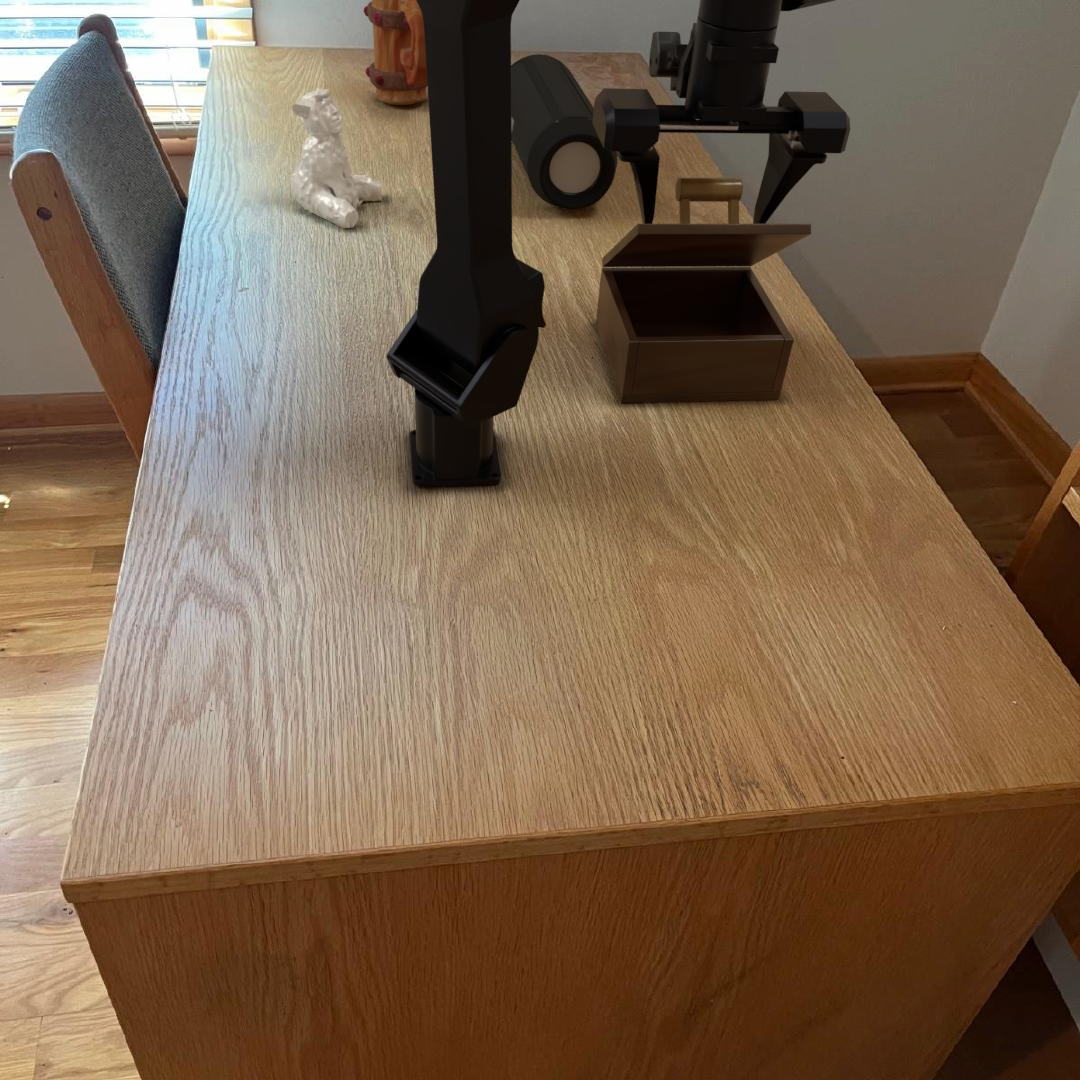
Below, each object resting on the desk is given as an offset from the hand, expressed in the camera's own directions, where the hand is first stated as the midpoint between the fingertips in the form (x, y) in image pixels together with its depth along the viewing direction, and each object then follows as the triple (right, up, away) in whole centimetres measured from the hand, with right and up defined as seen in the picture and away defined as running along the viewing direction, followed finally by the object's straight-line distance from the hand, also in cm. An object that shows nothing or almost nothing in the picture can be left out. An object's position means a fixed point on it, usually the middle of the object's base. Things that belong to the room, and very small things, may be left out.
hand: (702, 228), depth 83 cm
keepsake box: (-1, -10, +7) cm, 12 cm away
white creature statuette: (-35, +10, +26) cm, 45 cm away
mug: (-30, +31, +50) cm, 66 cm away
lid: (0, -2, +1) cm, 2 cm away
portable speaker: (-12, +18, +37) cm, 43 cm away
